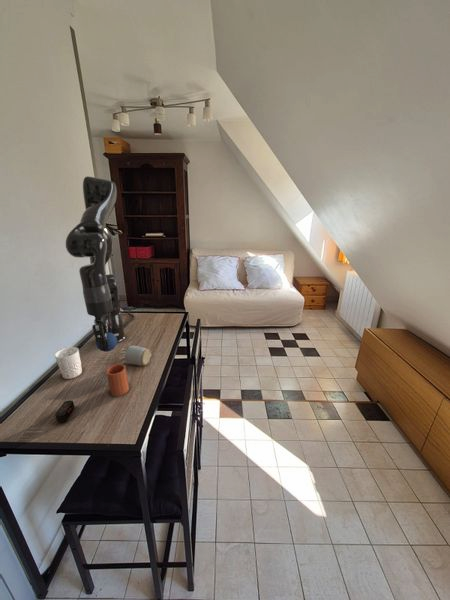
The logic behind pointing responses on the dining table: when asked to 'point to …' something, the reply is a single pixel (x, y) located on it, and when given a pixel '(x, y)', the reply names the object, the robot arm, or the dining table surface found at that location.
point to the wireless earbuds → (65, 411)
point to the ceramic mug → (137, 355)
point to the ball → (109, 342)
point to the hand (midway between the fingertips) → (107, 344)
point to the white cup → (69, 362)
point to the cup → (117, 379)
